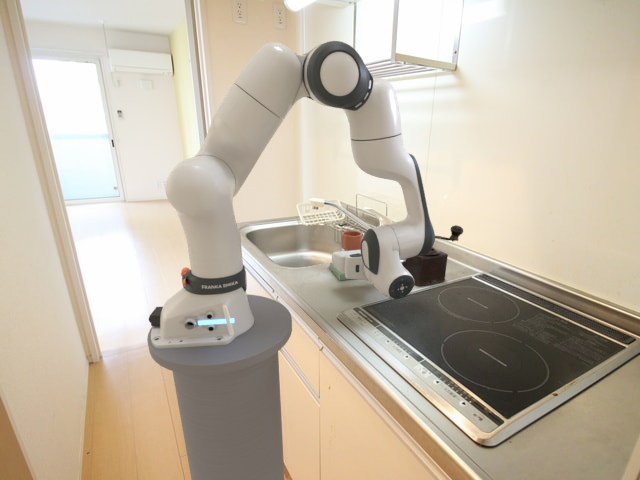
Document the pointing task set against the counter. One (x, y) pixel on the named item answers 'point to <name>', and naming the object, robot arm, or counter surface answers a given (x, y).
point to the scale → (338, 273)
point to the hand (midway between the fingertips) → (357, 249)
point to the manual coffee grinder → (431, 263)
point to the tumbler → (351, 240)
